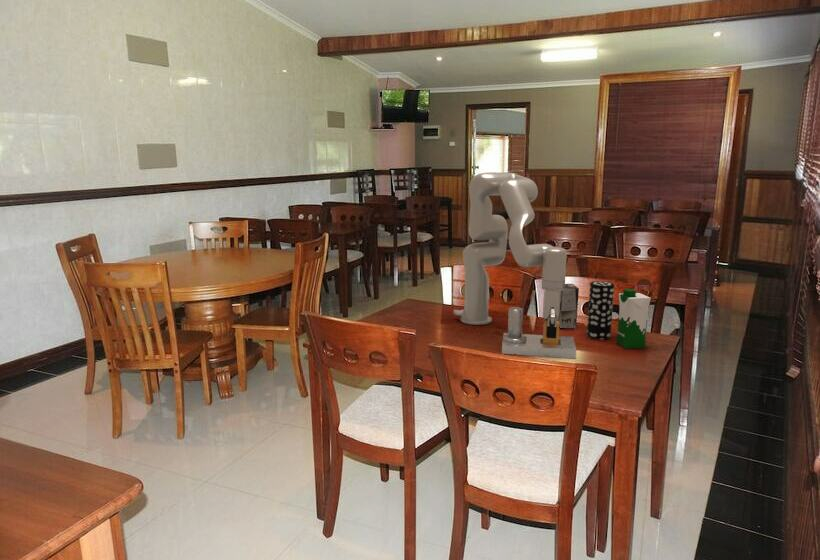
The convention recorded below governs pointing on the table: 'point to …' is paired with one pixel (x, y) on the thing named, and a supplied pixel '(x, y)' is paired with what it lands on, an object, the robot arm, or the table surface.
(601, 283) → the white-spotted black cylinder
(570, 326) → the coffee box
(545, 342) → the tan upright block
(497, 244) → the robot arm
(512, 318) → the grey base with post
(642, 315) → the milk carton
